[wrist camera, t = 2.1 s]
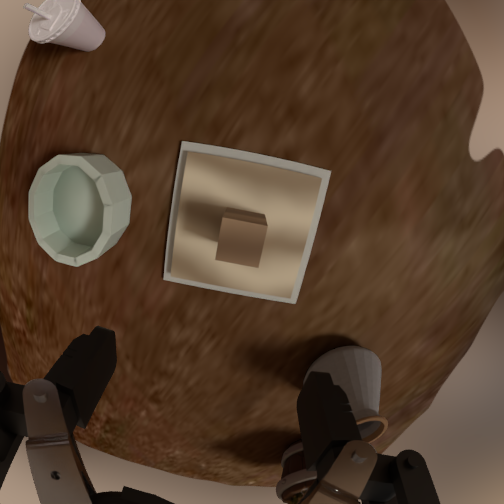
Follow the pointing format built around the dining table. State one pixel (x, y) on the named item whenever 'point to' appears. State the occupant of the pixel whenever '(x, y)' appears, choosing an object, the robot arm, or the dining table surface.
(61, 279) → the dining table surface
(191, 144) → the tray
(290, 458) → the flowerpot
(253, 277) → the lid
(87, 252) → the bowl
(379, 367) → the coffee pot
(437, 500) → the robot arm
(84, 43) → the smoothie
